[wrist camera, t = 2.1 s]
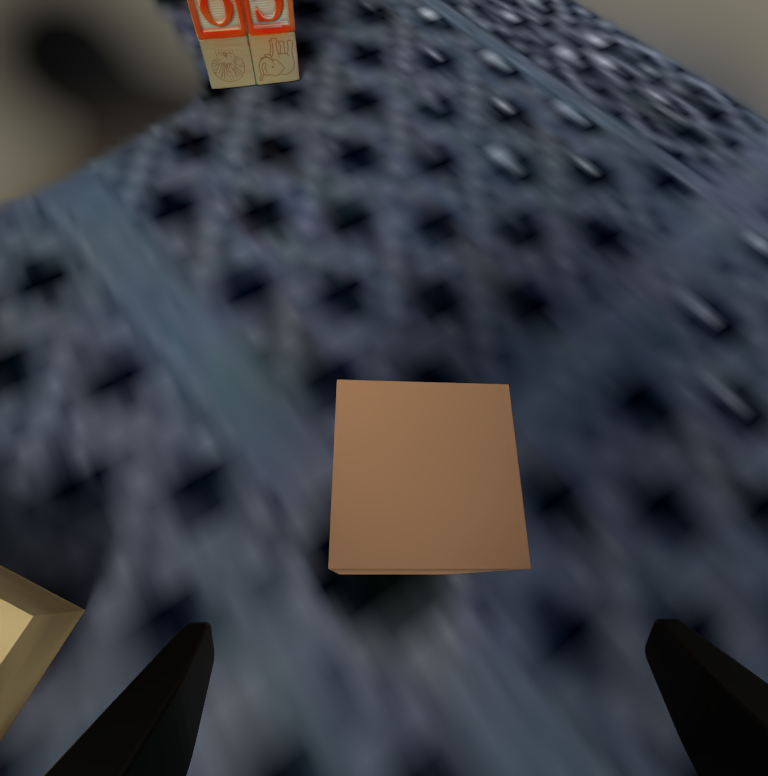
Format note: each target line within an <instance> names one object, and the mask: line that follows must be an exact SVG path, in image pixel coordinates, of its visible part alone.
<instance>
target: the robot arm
mask: <svg viewBox="0 0 768 776" xmlns="http://www.w3.org/2000/svg"><path fill="white" fill-rule="evenodd" d="M645 654H646V658H647V661H648V663H649V666H650V668H651V670H652V673H653V675H654V678H655V680H656V683H657V685H658V687H659V690H660V692H661V695H662V697H663V699H664V702H665V704H666V707H667V709H668V711H669V714H670V716H671V719H672V721H673V723H674V726H675V728H676V730H677V733H678V735H679V737H680V739H681V742H682V744H683V746H684V748H685V750H686V752H687V754H688V756H689V758H690V760H691V762H692V764H693V766H694V768H695V770H696V772H697V774H698V776H768V684H767V683H766V682H765V681H763V680H762V679H760V678H759V677H758V676H756V675H755V674H754V673H752V672H751V671H749V670H748V669H747V668H745V667H744V666H742V665H741V664H740V663H738V662H737V661H736V660H734V659H733V658H731V657H730V656H729V655H727V654H726V653H724V652H723V651H722V650H720V649H719V648H718V647H716V646H715V645H713V644H712V643H711V642H709V641H708V640H706V639H705V638H704V637H702V636H701V635H699V634H698V633H697V632H695V631H694V630H693V629H691V628H690V627H688V626H687V625H686V624H684V623H683V622H681V621H679V620H677V619H657V620H656V621H655V622H654V624H653V627H652V629H651V632H650V635H649V637H648V640H647V643H646V646H645ZM213 662H214V646H213V638H212V631H211V626H210V624H209V623H208V622H190V623H188V624H186V625H185V626H184V627H183V628H182V629H181V630H180V631H179V632H178V633H177V634H176V635H175V636H174V637H173V638H172V639H171V641H170V642H169V643H168V644H167V645H166V646H165V647H164V648H163V649H162V650H161V651H160V652H159V653H158V654H157V655H156V657H155V658H154V659H153V660H152V661H151V662H150V663H149V664H148V665H147V666H146V667H145V668H144V669H143V670H142V672H141V673H140V674H139V675H138V676H137V677H136V678H135V679H134V680H133V681H132V682H131V683H130V684H129V685H128V686H127V688H126V689H125V690H124V691H123V692H122V693H121V694H120V695H119V696H118V697H117V698H116V699H115V700H114V701H113V702H112V704H111V705H110V706H109V707H108V708H107V709H106V710H105V711H104V712H103V713H102V714H101V715H100V716H99V717H98V718H97V720H96V721H95V722H94V723H93V724H92V725H91V726H90V727H89V728H88V729H87V730H86V731H85V732H84V733H83V735H82V736H81V737H80V738H79V739H78V740H77V741H76V742H75V743H74V744H73V745H72V746H71V747H70V748H69V749H68V751H67V752H66V753H65V754H64V755H63V756H62V757H61V758H60V759H59V760H58V761H57V762H56V763H55V764H54V765H53V767H52V768H51V769H50V770H49V771H48V772H47V773H46V774H45V775H44V776H186V774H187V771H188V768H189V765H190V761H191V758H192V754H193V750H194V746H195V742H196V738H197V733H198V729H199V725H200V720H201V716H202V711H203V707H204V703H205V698H206V694H207V689H208V685H209V680H210V676H211V672H212V667H213Z"/></svg>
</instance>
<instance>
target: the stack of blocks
mask: <svg viewBox="0 0 768 776" xmlns="http://www.w3.org/2000/svg"><path fill="white" fill-rule="evenodd" d="M187 2H188V6H189V9H190V13H191V17H192V20H193V24H194V27H195V31H196V35H197V37H198V41H199V44H200V48H201V51H202V55H203V58H204V62H205V65H206V69H207V72H208V76H209V80H210V84H211V87H212V89H220V88H231V87H240V86H249V85H255V84H258V85H261V84H271V83H279V82H288V81H296V80H299V79H300V78H299V67H298V55H297V48H296V38H295V18H294V7H293V0H187Z"/></svg>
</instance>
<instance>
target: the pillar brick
mask: <svg viewBox="0 0 768 776" xmlns="http://www.w3.org/2000/svg"><path fill="white" fill-rule="evenodd" d="M328 569H330V570H332V571H334V572H336V573H338V574H456V573H472V572H488V571H504V570H521V569H531V565H530V557H529V549H528V540H527V532H526V524H525V516H524V507H523V499H522V491H521V483H520V474H519V466H518V458H517V449H516V441H515V433H514V425H513V416H512V408H511V400H510V392H509V384H473V383H438V382H402V381H366V380H337V391H336V413H335V435H334V457H333V479H332V501H331V523H330V545H329V567H328Z"/></svg>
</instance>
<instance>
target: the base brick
mask: <svg viewBox="0 0 768 776" xmlns="http://www.w3.org/2000/svg"><path fill="white" fill-rule="evenodd" d="M84 611H85V610H84V609H82V608H80V607H78V606H77V605H75V604H73V603H71V602H69V601H67V600H65V599H63V598H61V597H60V596H58V595H56V594H54V593H52V592H50V591H48V590H46V589H44V588H43V587H41V586H39V585H37V584H35V583H33V582H31V581H29V580H27V579H26V578H24V577H22V576H20V575H18V574H16V573H14V572H12V571H10V570H8V569H7V568H5V567H3V566H1V565H0V741H1V739H2V738H3V736H4V734H5V733H6V731H7V730H8V728H9V727H10V725H11V724H12V722H13V721H14V719H15V717H16V716H17V714H18V713H19V711H20V710H21V708H22V707H23V705H24V704H25V702H26V701H27V699H28V697H29V696H30V694H31V693H32V691H33V690H34V688H35V687H36V685H37V684H38V682H39V680H40V679H41V677H42V676H43V674H44V673H45V671H46V670H47V668H48V667H49V665H50V663H51V662H52V660H53V659H54V657H55V656H56V654H57V653H58V651H59V650H60V648H61V647H62V645H63V643H64V642H65V640H66V639H67V637H68V636H69V634H70V633H71V631H72V630H73V628H74V626H75V625H76V623H77V622H78V620H79V619H80V617H81V616H82V614H83V613H84Z"/></svg>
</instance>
